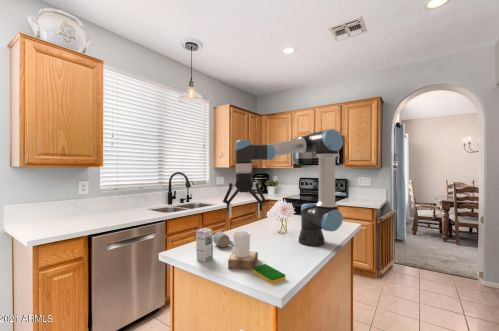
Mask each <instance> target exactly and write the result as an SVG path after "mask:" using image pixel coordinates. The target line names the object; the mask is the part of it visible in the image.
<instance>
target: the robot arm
mask: <svg viewBox="0 0 499 331" xmlns="http://www.w3.org/2000/svg"><path fill="white" fill-rule="evenodd" d="M343 145H344V139H343V136H342V134H341V133H340V132H339V131H338V130H337V129H325V130H324V129H323V130H321V131H316V132H312V133H310V134H307V135H303V136H299V137H297V138H296V139H291V140H284V141H280V142H273V143H267V144H266V143H265V144H253V143H252V140H251V139H239V140H236V141H235V147H234V148H235V149H234V150H235V152H234V153H235V172H236V174H235V183H233V182H230V183H229V185H228V189H227V192H226V193H225V196H224V198H223V200H222V203H224V204H226V210H227V211H228V214H229V215H228V217H229V219H232V217H233V205H232V201H233V200H234V198H236V196H237V194H239V192H240V193H250V194H251V195H252V197H253V198H254V199H255V200H256V201H257V202H258V203H257V219H261V211H263V204H265V203H266V202H267V200H266V197H265V196H264V194H263V192H262V189H261V188H260V184H259V182H254V183H253V174H252V170H253V168H252V164H253V163H252V162H254V161H255V162H256V161H271V160H273V159H274V158H275V157H280V156H285V155H290V154H295V153H301V154H305V153H307V154H308V153H315V155H316V157H317V158H318V201H317V202H313V203H303V204H301V207H300V213H301V214H300V215H301V216H300V220H301V221H300V222H301V223H300V224H301V225H300V226H301V228H300V232H299V235H298V243H299V244H301V245H304V246H309V247H319V246H323V245H325V244H326V243H325V242H326V241H325V240H326V239H325V236H324V233H323V230H324V231H327V232H335V231H337V230H339V228H340V227H341V226H342V224H343V219H344V218H343V214H342V213H341V212H340V210H339V205H338V204H337V203H336V158H337V157H338V156H339V151H340V150H341V149H342V147H343ZM234 187H235V188H236V189H235V192H234V193H232V195H231V196H230V194H231V192H232V190H233V188H234ZM253 187H254V188H255V189H256V190H257V193H258V194H259V196H260V197H259V196H258V195H257V194H256V193H255V192H254V190H253V189H252V188H253ZM229 196H230V197H229Z"/></svg>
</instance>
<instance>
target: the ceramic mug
mask: <svg viewBox="0 0 499 331" xmlns="http://www.w3.org/2000/svg"><path fill="white" fill-rule="evenodd" d="M212 239H213V243H214V245H215V244H216V245H217V246H219V247H220V248H226V247H229V246H233V245H234V241H232V240H231V239H230V237H229V236H228V235H227V234H226V233H225V232H223V231H220V230H218V231H216V232H215V233H214V234H213V235H212ZM228 245H229V246H228Z"/></svg>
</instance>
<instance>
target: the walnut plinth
mask: <svg viewBox="0 0 499 331" xmlns="http://www.w3.org/2000/svg"><path fill="white" fill-rule="evenodd" d="M258 260H259V253H258V251H250V250H249V256H248V257H244V258H239V257H236V256H235V252H234V250H233V251H232V253H231V255H230V257H229V258H228V261H227V262H228V263H227V266H228V267H227V269H229V270H230V269H231V270H247V271H249V270H251V271H252V267H255V266H258Z"/></svg>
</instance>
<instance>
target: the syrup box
mask: <svg viewBox="0 0 499 331" xmlns="http://www.w3.org/2000/svg"><path fill="white" fill-rule="evenodd" d="M195 242H196V243H195V244H196V246H195V248H196V250H195V251H196V260H197V261H199V260H200V261H201V262H204V263H206V262H207V261H210V260H211V259H213V258H214V253H213V252H214V251H213V250H214V245H213V243H214V241H213V229H212V228H208V227H203V228H200V229H197V230H196V232H195Z"/></svg>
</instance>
